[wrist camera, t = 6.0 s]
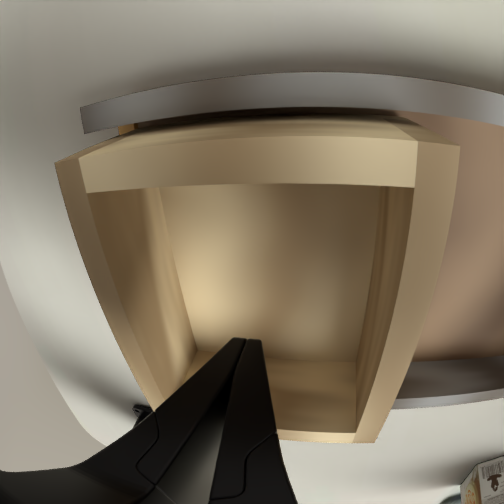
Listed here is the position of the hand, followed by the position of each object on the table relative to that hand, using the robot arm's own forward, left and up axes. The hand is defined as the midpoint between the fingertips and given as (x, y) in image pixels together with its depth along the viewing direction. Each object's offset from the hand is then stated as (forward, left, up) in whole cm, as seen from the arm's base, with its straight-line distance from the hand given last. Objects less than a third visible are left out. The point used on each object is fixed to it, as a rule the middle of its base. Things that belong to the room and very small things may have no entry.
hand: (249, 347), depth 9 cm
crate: (0, 0, -5) cm, 5 cm away
